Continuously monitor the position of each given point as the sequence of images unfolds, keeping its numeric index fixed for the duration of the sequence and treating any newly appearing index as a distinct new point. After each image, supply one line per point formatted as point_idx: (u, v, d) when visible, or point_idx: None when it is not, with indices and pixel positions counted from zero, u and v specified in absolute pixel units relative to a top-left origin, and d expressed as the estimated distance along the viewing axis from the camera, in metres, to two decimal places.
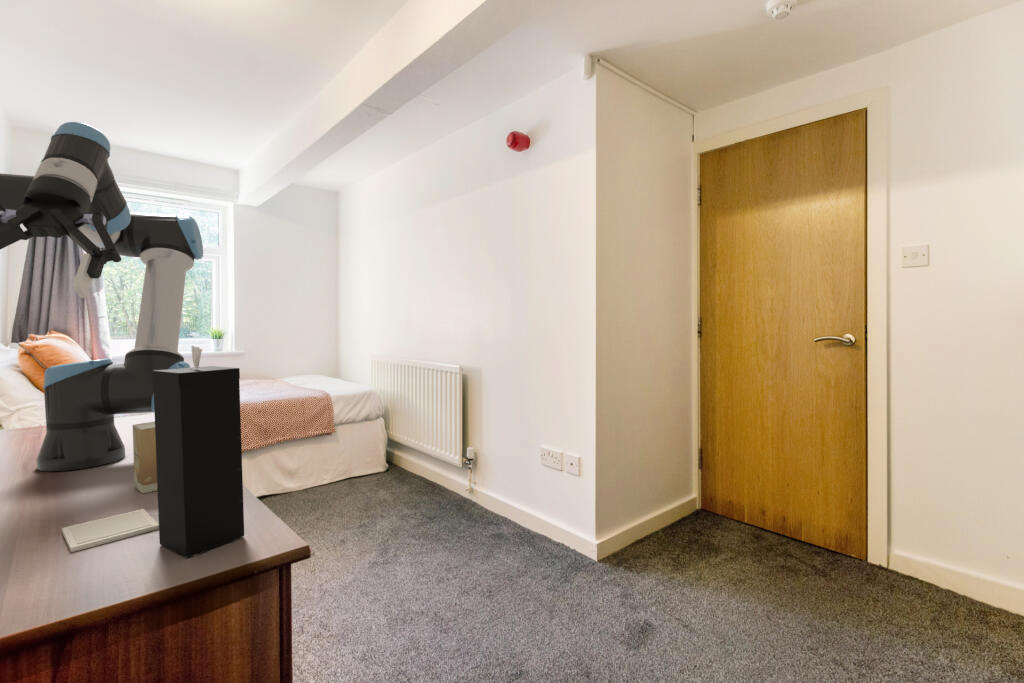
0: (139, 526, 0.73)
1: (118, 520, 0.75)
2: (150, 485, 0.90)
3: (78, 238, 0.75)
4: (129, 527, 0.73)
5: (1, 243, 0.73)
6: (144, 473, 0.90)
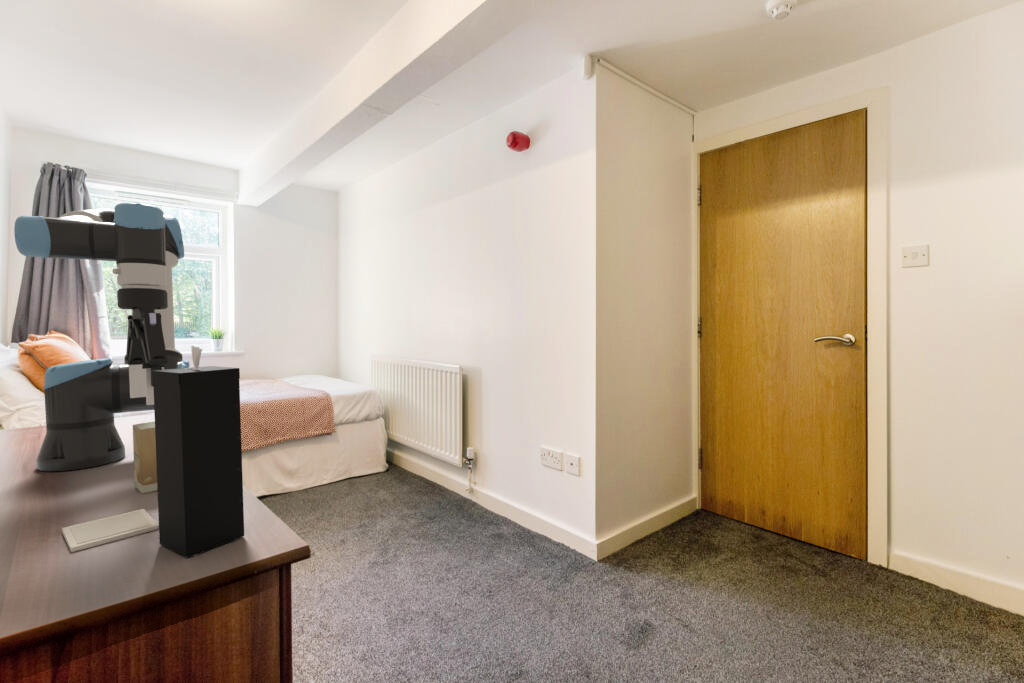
0: (139, 526, 0.73)
1: (118, 520, 0.75)
2: (150, 485, 0.90)
3: (143, 349, 0.87)
4: (129, 527, 0.73)
5: (141, 348, 0.95)
6: (144, 473, 0.90)
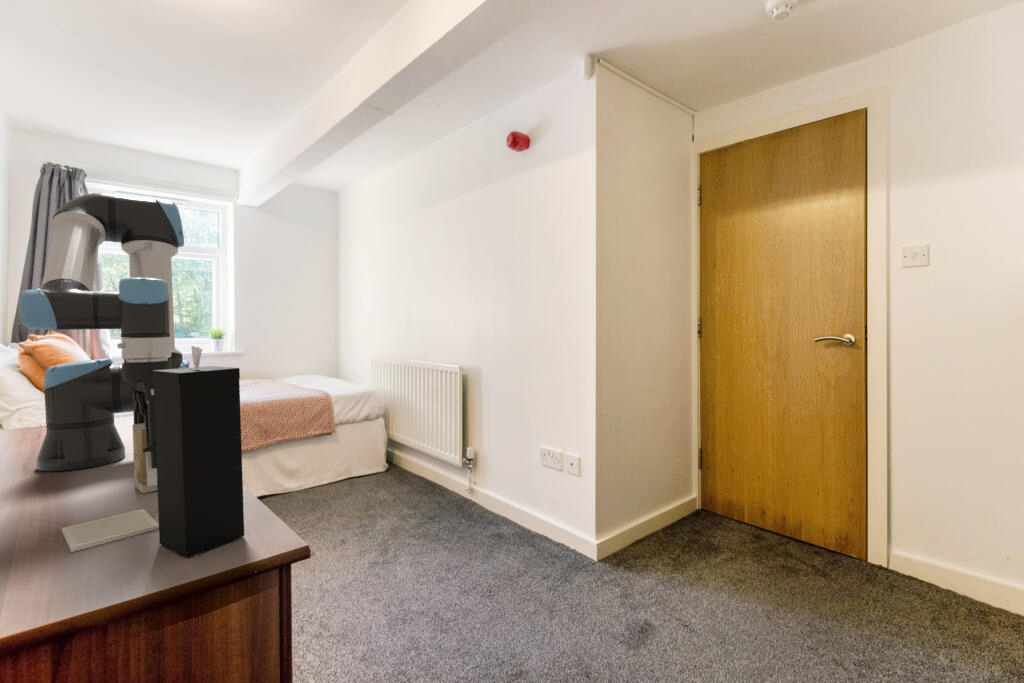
0: (139, 526, 0.73)
1: (118, 520, 0.75)
2: None
3: None
4: (129, 527, 0.73)
5: None
6: (144, 473, 0.90)
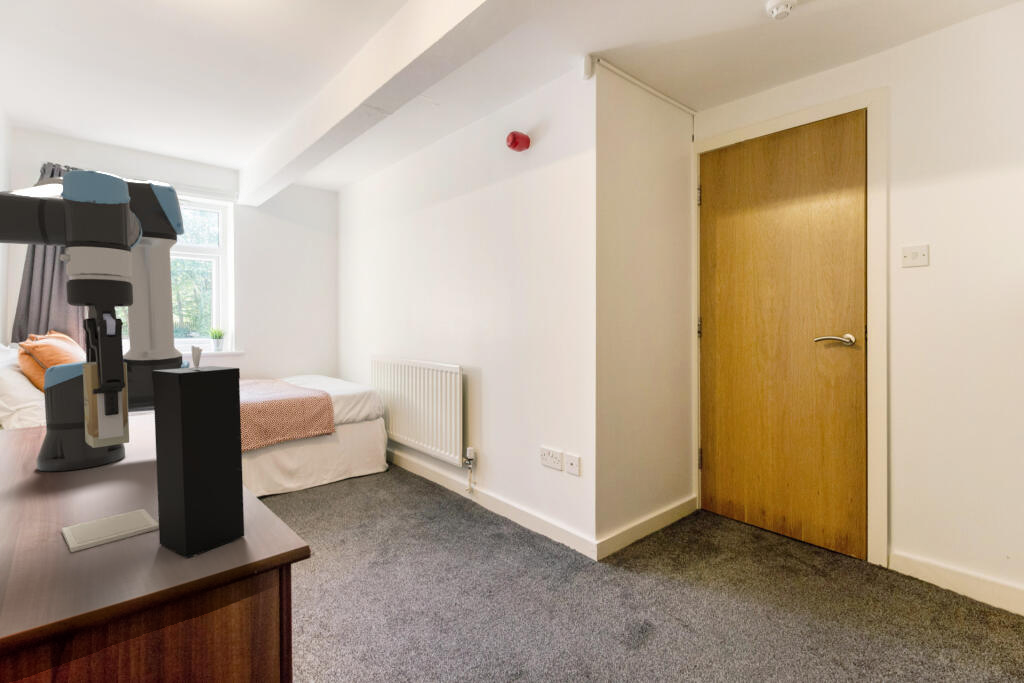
0: (139, 526, 0.73)
1: (118, 520, 0.75)
2: (104, 438, 0.70)
3: (97, 364, 0.70)
4: (129, 527, 0.73)
5: None
6: (96, 421, 0.70)
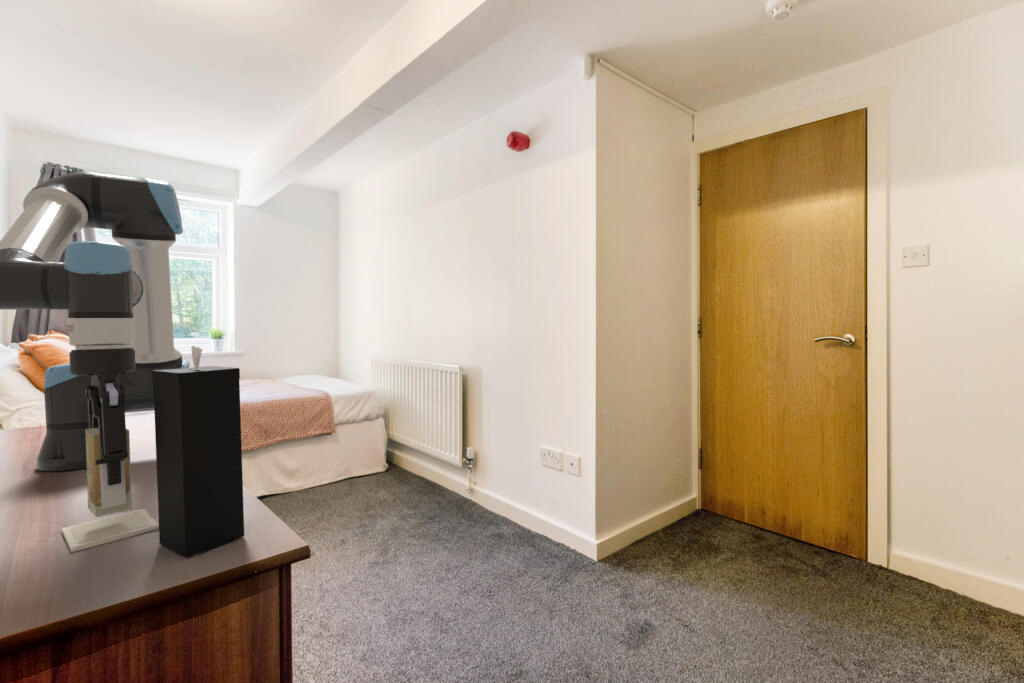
0: (139, 526, 0.73)
1: (118, 520, 0.75)
2: None
3: None
4: (129, 527, 0.73)
5: None
6: (98, 491, 0.70)
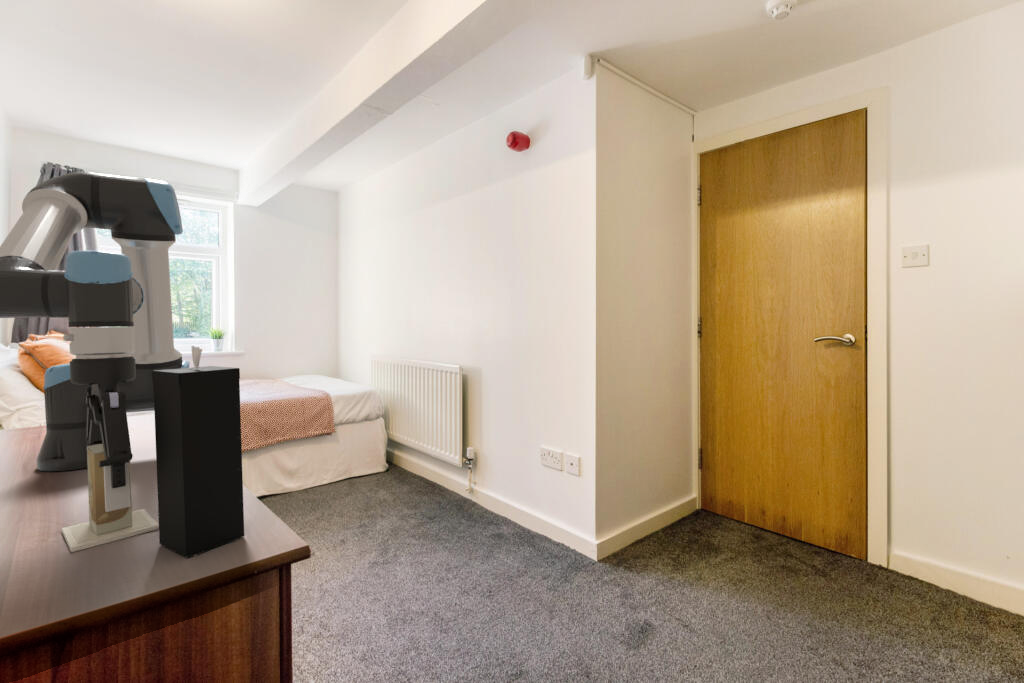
0: (139, 526, 0.73)
1: None
2: (107, 524, 0.71)
3: (102, 439, 0.69)
4: (129, 527, 0.73)
5: None
6: (99, 509, 0.70)
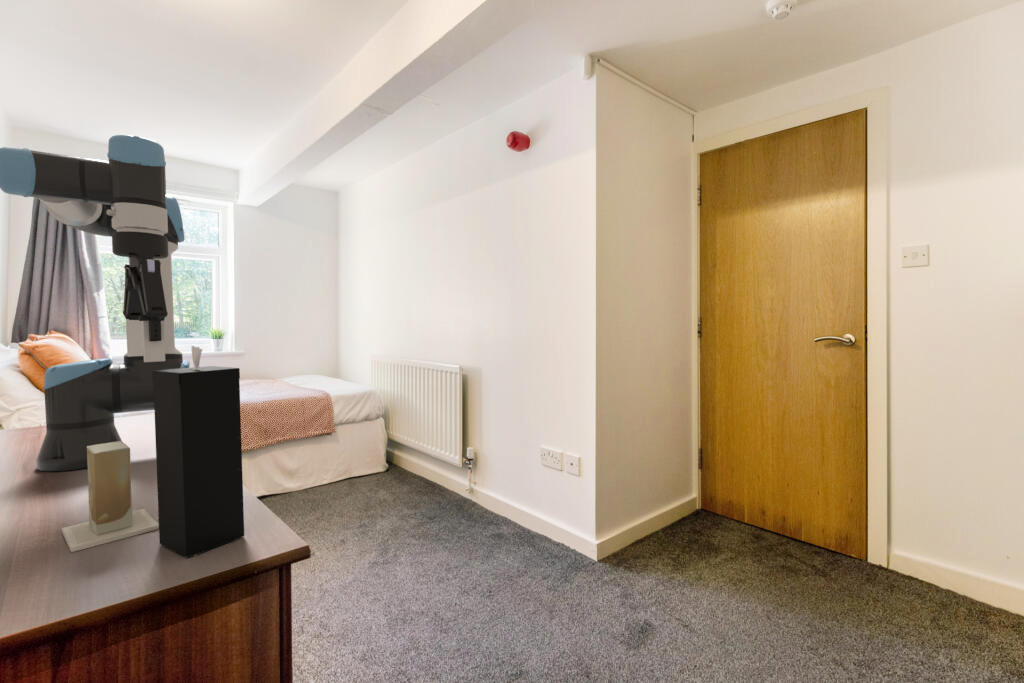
0: (139, 526, 0.73)
1: None
2: (107, 524, 0.71)
3: (140, 300, 0.78)
4: (129, 527, 0.73)
5: (139, 302, 0.86)
6: (99, 509, 0.70)
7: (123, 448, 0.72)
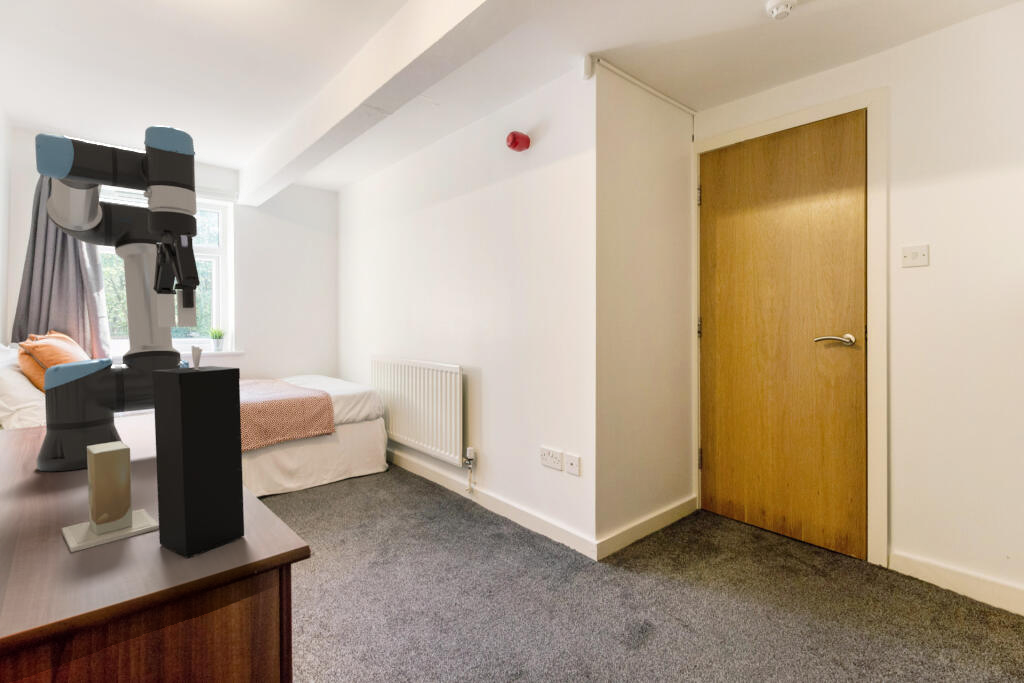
0: (139, 526, 0.73)
1: None
2: (107, 524, 0.71)
3: (174, 272, 0.87)
4: (129, 527, 0.73)
5: (170, 277, 0.95)
6: (99, 509, 0.70)
7: (123, 448, 0.72)
